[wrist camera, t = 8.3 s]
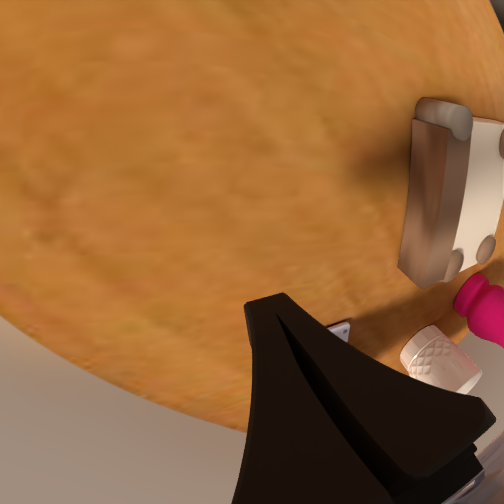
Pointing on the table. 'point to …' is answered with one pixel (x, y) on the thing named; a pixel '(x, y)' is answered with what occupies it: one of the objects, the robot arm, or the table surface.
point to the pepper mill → (482, 308)
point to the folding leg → (435, 189)
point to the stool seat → (480, 198)
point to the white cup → (439, 361)
